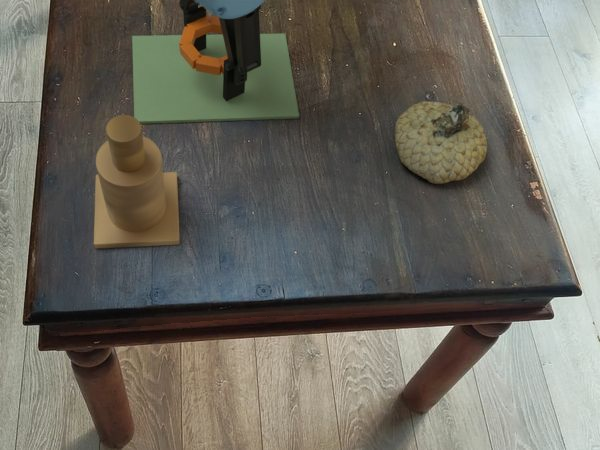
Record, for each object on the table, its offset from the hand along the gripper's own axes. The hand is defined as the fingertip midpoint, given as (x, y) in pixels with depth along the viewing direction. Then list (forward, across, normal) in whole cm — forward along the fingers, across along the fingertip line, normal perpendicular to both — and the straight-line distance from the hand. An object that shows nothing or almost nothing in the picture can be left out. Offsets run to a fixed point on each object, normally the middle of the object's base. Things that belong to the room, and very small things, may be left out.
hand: (214, 72), depth 89 cm
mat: (+1, 0, 0) cm, 1 cm away
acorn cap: (+1, -24, -17) cm, 29 cm away
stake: (+1, -12, +18) cm, 22 cm away
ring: (-5, 0, 0) cm, 5 cm away
